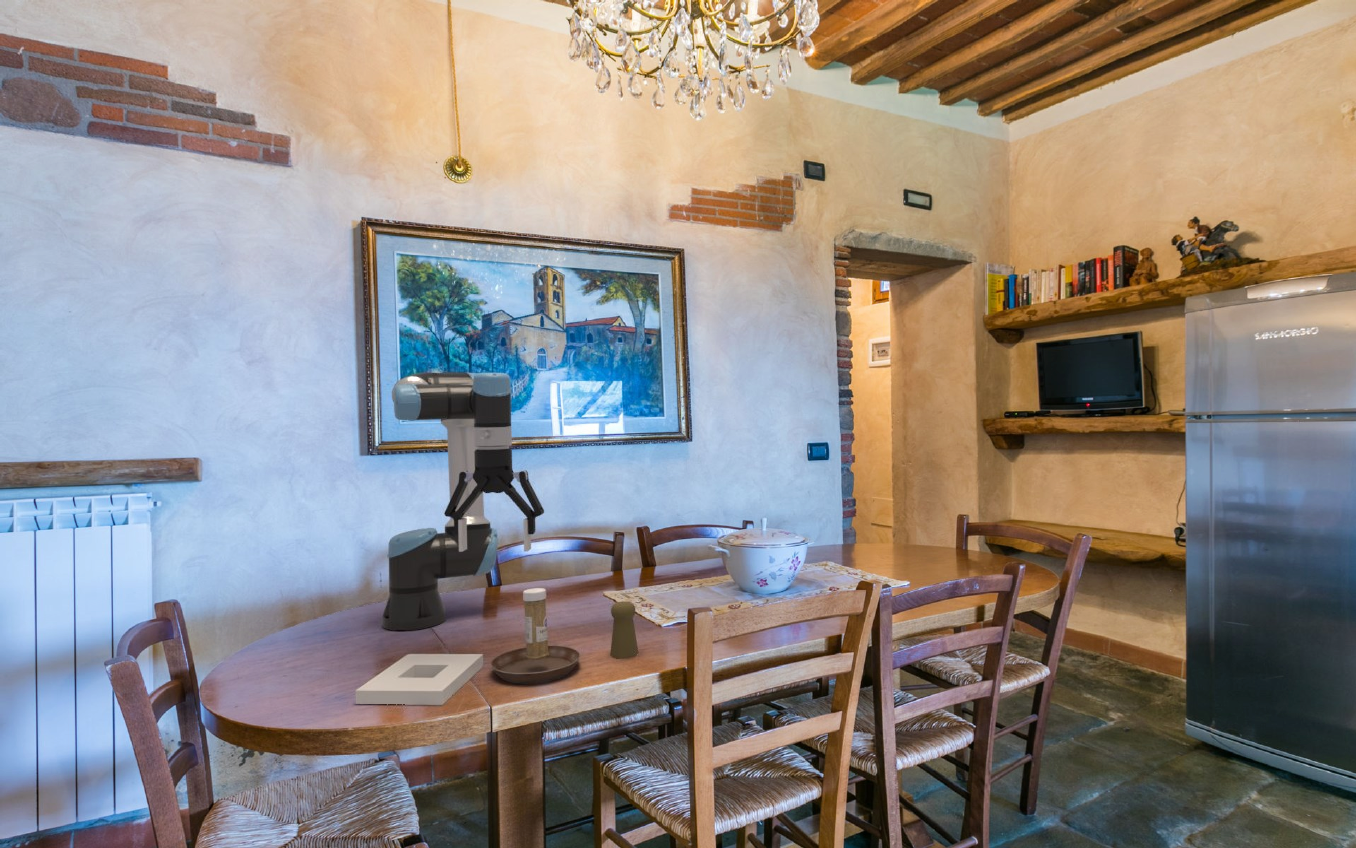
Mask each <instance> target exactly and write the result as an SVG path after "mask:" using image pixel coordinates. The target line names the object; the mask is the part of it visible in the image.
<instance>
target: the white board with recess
mask: <svg viewBox="0 0 1356 848" xmlns="http://www.w3.org/2000/svg"><path fill="white" fill-rule="evenodd" d="M483 667H484V654H483V653H407V654H406V655H404V656H403V657H402V658H400V659H399V660H397V661H396V662H394V663H393V664H392V665H390V666H389V667H387V668H386V669H385V670H383V671H382V672H380V673H378V675H376V676H374V677H373V678H371V679H370V680H369V681H367V682H366V683H364V684H363V685H361V686H360V687H358V688H357V689H356V690H355V705H356V704H357V703H360V704H366V703H367V704H387V706H388V704H396V705H395V706H398V705H397V704H402V705H401V706H411V705H412V706H443V705H444V704H446V702H447V701H449V700H450V699H451V698H452V697H453V696H454V695H455V694H456V693H457V692H458V691H459V690H460V689H461V688H463V686H464V685H465V684H467V683H468V682H469V680H471V679H472V678H473V677H474V676H475V675H476V674H477V673H479V671H481V669H482V668H483ZM452 695H453V696H452ZM403 704H405V705H403Z"/></svg>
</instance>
